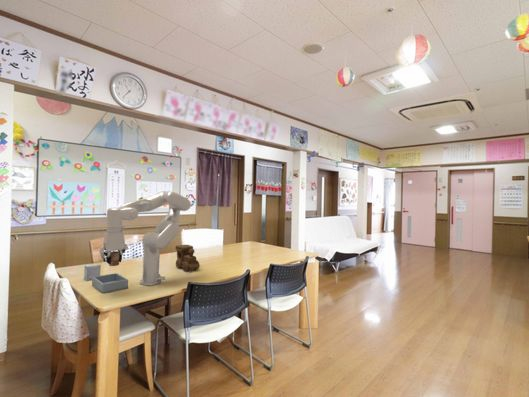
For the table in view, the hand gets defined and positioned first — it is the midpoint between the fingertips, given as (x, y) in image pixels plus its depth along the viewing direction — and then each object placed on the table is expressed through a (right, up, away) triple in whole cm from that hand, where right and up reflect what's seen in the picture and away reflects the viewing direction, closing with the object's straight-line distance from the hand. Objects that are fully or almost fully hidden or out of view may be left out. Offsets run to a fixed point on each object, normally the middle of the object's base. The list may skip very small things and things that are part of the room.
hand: (114, 262), depth 154 cm
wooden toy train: (+25, -18, +55) cm, 63 cm away
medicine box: (-26, -16, +22) cm, 38 cm away
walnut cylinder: (0, -2, 0) cm, 2 cm away
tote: (-7, -17, +9) cm, 20 cm away
